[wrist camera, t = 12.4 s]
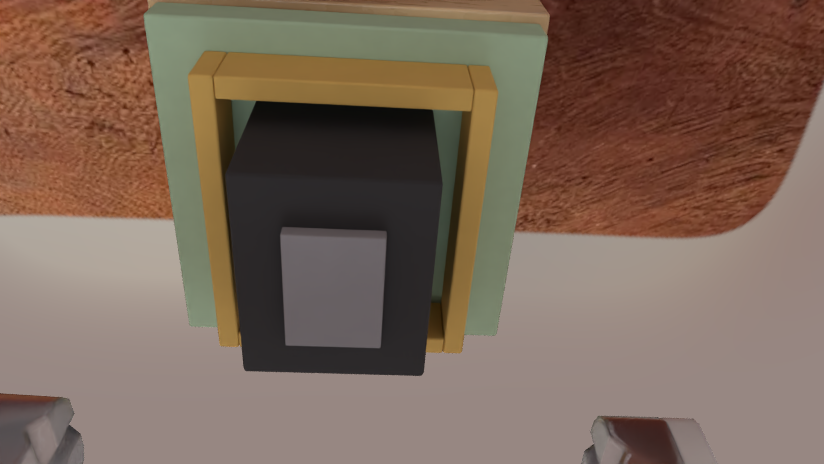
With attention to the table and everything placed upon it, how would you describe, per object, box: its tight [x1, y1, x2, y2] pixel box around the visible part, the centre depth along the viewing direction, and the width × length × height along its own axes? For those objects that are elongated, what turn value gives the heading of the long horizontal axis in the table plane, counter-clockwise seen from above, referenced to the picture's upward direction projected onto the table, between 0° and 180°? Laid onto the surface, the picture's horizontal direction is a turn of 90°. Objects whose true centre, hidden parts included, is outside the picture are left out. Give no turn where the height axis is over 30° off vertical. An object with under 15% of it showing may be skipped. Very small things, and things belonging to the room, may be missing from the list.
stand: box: [147, 0, 550, 35], centre depth 23 cm, size 9×9×12 cm
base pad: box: [144, 2, 548, 353], centre depth 17 cm, size 9×9×2 cm
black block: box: [225, 101, 443, 376], centre depth 15 cm, size 4×5×4 cm
